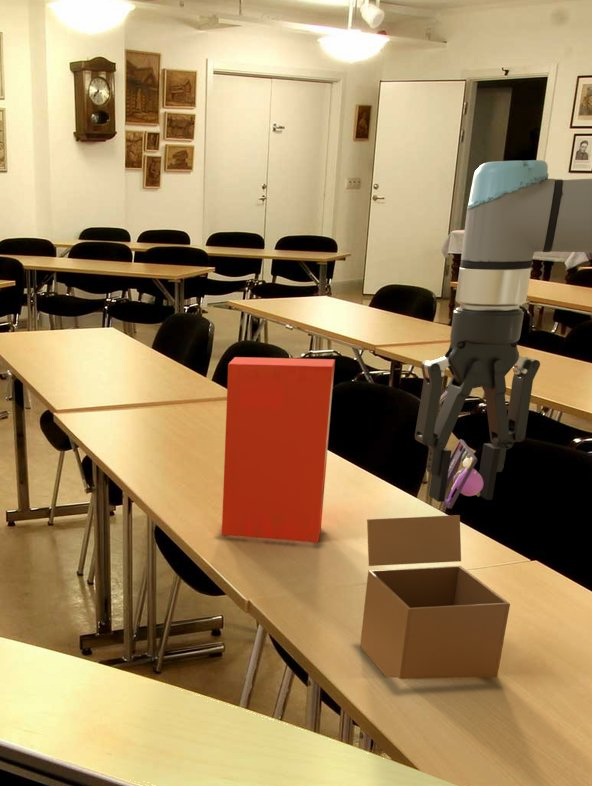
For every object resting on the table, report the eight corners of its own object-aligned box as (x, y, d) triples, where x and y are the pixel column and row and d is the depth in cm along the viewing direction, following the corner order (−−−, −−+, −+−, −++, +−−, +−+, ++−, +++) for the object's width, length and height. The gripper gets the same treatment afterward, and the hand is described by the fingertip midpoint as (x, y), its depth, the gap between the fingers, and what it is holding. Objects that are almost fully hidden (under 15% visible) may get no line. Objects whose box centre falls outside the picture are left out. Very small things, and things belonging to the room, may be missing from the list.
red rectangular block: (228, 523, 176) (235, 356, 163) (320, 531, 170) (335, 358, 158) (221, 538, 169) (227, 364, 156) (317, 546, 163) (332, 367, 151)
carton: (359, 646, 126) (368, 570, 122) (449, 641, 127) (460, 565, 123) (397, 691, 115) (408, 609, 110) (495, 685, 115) (510, 603, 111)
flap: (369, 566, 122) (368, 565, 122) (461, 561, 123) (460, 561, 123) (367, 519, 122) (366, 519, 122) (459, 515, 122) (458, 515, 123)
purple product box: (454, 436, 116) (468, 456, 108) (493, 450, 116) (510, 471, 108) (430, 483, 119) (442, 506, 111) (468, 497, 119) (483, 521, 111)
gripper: (548, 301, 109) (515, 486, 118) (398, 305, 109) (377, 491, 117) (585, 307, 103) (547, 503, 111) (425, 312, 102) (400, 509, 110)
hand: (460, 497), depth 114 cm, fingers closed on purple product box, 5 cm apart
